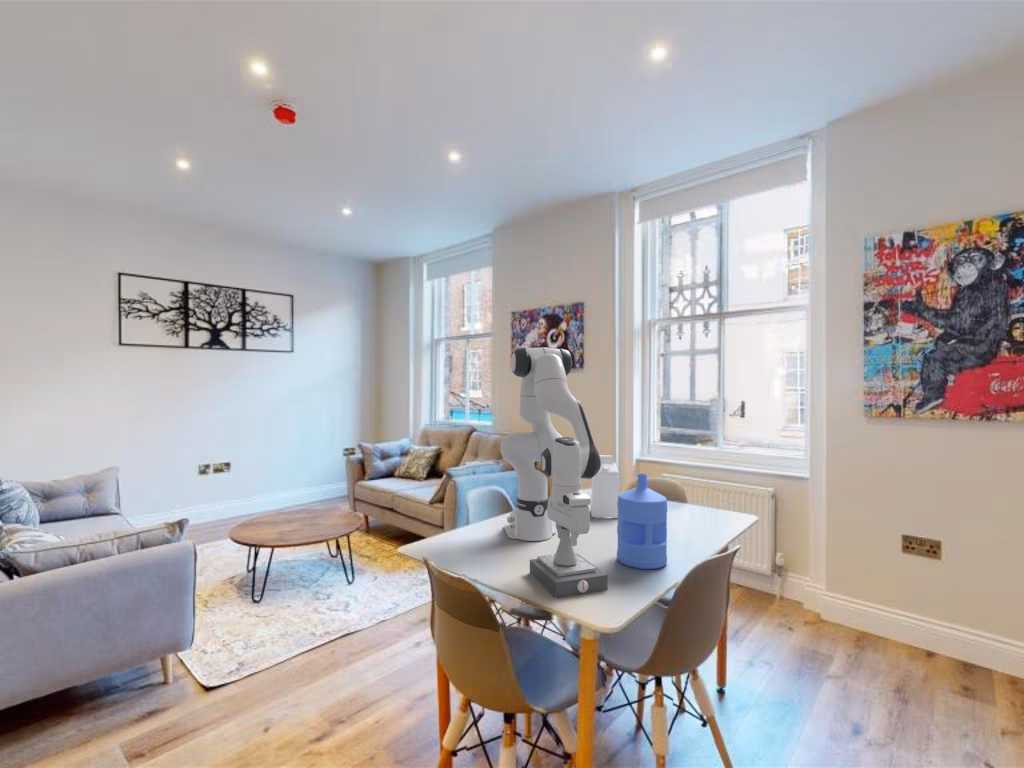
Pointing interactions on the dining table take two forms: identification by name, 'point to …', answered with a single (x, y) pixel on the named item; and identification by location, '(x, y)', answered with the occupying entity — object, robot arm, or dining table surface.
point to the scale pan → (563, 570)
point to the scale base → (569, 580)
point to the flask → (565, 550)
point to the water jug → (642, 527)
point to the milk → (605, 489)
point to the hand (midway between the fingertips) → (566, 541)
